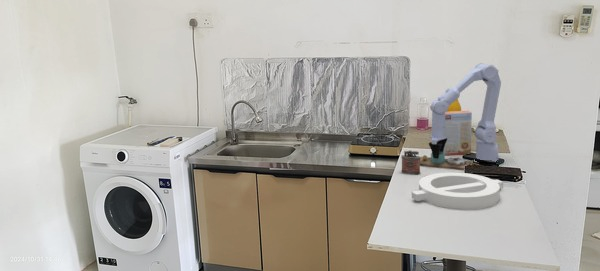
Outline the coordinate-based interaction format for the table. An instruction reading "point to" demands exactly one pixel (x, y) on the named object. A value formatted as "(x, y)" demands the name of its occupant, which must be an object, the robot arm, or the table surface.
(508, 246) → the table surface
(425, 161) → the board
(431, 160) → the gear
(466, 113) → the cracker box
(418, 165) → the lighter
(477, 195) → the ring with crossbar
